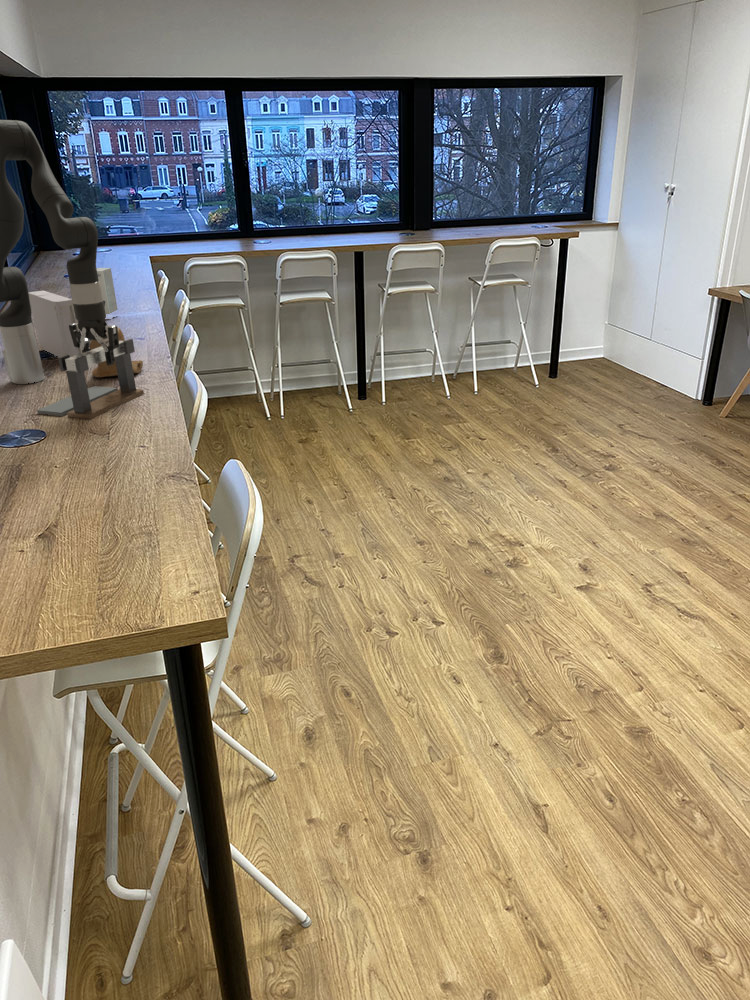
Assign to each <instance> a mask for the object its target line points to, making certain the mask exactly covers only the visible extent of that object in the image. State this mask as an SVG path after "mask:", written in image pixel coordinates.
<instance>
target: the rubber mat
mask: <svg viewBox="0 0 750 1000" xmlns="http://www.w3.org/2000/svg"><path fill="white" fill-rule="evenodd" d="M87 389H88V394H89V399H90V402H92V401H94V400H97V399H99V398H101V397H103V396H106V395H108V394H110V393H112V392H115V391H117V390H118V387H111V386H99V385H98V386H97V385H94V386H91V387H89V388H87ZM72 410H74V407H73V402H72V398H71V395H70V396H67V397H65V398H63V399H60V400H58V401H56V402H55V401H54V402H53V403H50V404H48V405H46V406H43V407H42V408H39V409H37V410H36V411H37V414H38V415H45V414H48V416H54V415H55V416H56V417H64V416H66V415H68V414H67V412H70V411H72Z"/></svg>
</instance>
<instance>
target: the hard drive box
mask: <svg viewBox="0 0 750 1000" xmlns="http://www.w3.org/2000/svg"><path fill="white" fill-rule="evenodd" d="M96 269H97V274H98V279H99V284H100V287H101V290H102V296H103V301H104V307H105V312H106V314H110V313H112V312H114V311H116V310H118V304H117V303H118V302H117V298H116V292H115V291H116V290H115V287H114V286H115V285H114V280H113V273H112V267H96ZM118 311H119V310H118Z"/></svg>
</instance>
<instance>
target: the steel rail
mask: <svg viewBox="0 0 750 1000" xmlns="http://www.w3.org/2000/svg"><path fill="white" fill-rule="evenodd" d="M107 346H108V345H107ZM105 352H106V351H105V350H104V349H103V347H102V346H101V347H98V348H95V349H93V350H90V351H87V352H84V353H81V354H79V355H76V356H73V357H70V358H67V359H65V362H66V367H67V370H66V371H74V372H77V366H76V361H75V359H76V358H79V357H81V356H86V357H87V362H88V367H89V368H90V367H93V366H96V365H98V363H101V362H103V361H106V358H105ZM113 352H114V357H116V356H119V355H122V354H124V353H125V351H124V345H123V341H119V347H118V348H116V349H114V350H113Z"/></svg>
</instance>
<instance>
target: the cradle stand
mask: <svg viewBox="0 0 750 1000" xmlns="http://www.w3.org/2000/svg"><path fill="white" fill-rule="evenodd" d="M123 345H124V351H125V353H124V354H122V355H119V356H116V357H115V362H116V368H117V373H118V376H117V378H118V384H119V389H117V391H115V392H112V393H110V394H108V395H106V396H103V397H101V398H99V399H97V400H94V401H92V402H90V399H89V394H88V389H89V388H88V386H87V385H88V384H87V380H86V375H85V372H86V371H89V370H90V367H88V362H87V357H86V356H81V357H79V358H76V359H75V361H76V366H77V372H74V371H67V367H66V362H65V359H67V358H70V356H69V355H63V356H61V357H57V360H58V365H59V370H60V372H66V373H65V374H66V378H67V383H68V388H69V393H70V396H71V398H72V402H73V407H74V410H72V411H70V412H67V414H66V415H67V417H68V418H75V419H84V420H92V419H94V418H96V417H98V416H100V415H102V414H104V413H106V412H108V411H111V410H113V409H115V408H117V407H119V406H121V405H123V404H125V403H128V402H129V401H132V400H133V399H136V398H138V397H140V396H142V395H144V394H145V393H144V389H139V388H137V386H136V380H135V374H134V373H133V368H132V362H131V361H132V357H131V354H133V353H135V351H136V350H135V346H134V339H133V338H128V339H126V340H125V341H123ZM114 407H115V408H114ZM112 408H113V409H112ZM110 409H111V410H110Z"/></svg>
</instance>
